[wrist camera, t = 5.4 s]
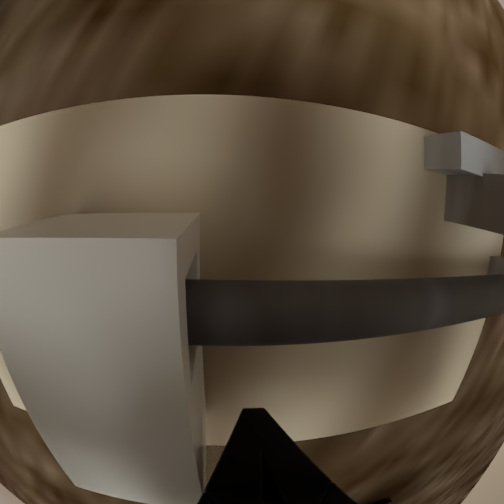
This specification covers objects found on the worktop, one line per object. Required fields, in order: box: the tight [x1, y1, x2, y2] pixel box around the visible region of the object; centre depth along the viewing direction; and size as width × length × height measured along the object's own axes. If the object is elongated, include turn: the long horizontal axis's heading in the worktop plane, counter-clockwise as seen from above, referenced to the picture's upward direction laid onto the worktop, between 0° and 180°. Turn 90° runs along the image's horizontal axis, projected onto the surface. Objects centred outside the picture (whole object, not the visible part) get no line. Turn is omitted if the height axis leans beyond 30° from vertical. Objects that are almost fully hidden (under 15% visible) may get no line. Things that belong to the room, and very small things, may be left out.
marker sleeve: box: [0, 213, 207, 504], centre depth 6 cm, size 4×7×4 cm, turn 177°
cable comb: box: [0, 94, 504, 445], centre depth 7 cm, size 25×13×4 cm, turn 87°
